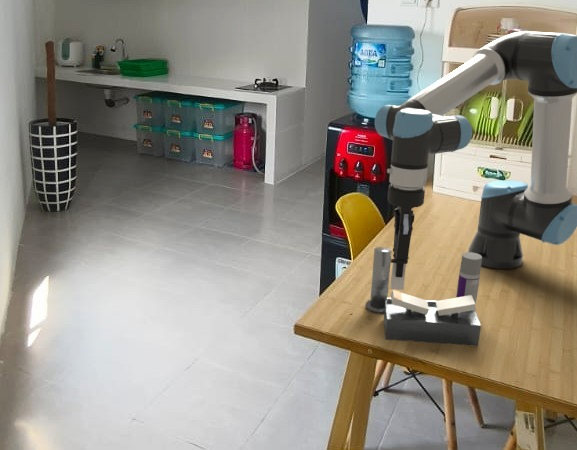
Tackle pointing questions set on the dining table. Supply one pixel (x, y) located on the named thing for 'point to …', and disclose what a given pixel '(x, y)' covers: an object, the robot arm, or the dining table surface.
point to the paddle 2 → (455, 305)
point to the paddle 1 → (409, 302)
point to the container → (469, 275)
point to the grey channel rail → (431, 325)
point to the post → (379, 280)
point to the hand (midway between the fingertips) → (396, 288)
